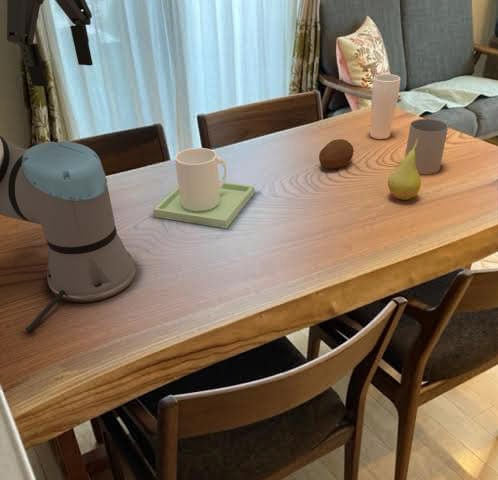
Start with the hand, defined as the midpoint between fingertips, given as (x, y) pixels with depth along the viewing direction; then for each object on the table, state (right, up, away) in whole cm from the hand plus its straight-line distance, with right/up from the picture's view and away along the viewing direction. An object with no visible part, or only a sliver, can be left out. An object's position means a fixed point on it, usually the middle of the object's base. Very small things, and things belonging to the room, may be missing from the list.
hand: (64, 74), depth 97 cm
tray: (+24, -19, +21) cm, 37 cm away
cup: (+75, -8, +32) cm, 82 cm away
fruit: (+67, -17, +21) cm, 72 cm away
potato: (+54, -7, +35) cm, 65 cm away
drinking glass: (+69, +5, +48) cm, 84 cm away
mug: (+24, -18, +21) cm, 37 cm away
